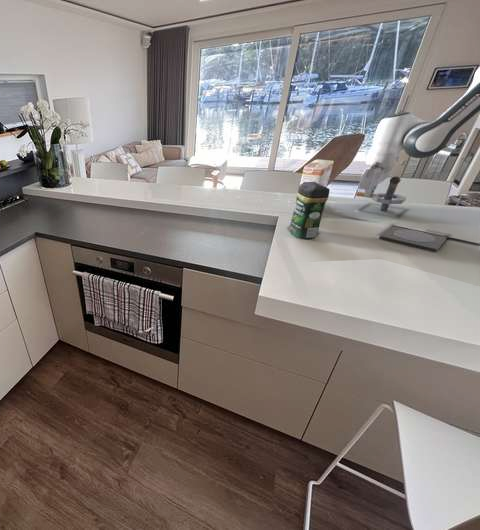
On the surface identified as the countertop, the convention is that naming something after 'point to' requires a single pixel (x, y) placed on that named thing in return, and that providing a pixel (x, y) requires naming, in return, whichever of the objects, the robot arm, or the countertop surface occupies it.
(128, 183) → the countertop surface
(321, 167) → the coffeecake box
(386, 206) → the post
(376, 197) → the steel loop
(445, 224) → the countertop surface
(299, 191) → the coffee jar
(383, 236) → the hob plate
